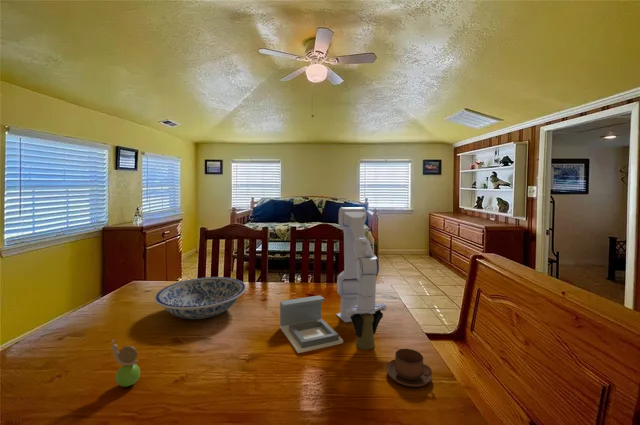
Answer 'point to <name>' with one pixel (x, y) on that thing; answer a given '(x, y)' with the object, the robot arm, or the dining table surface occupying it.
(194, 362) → the dining table surface
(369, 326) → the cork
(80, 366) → the dining table surface
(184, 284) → the ceramic bowl
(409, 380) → the cup and saucer
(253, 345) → the dining table surface
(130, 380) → the snail figurine
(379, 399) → the dining table surface
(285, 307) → the socket block
